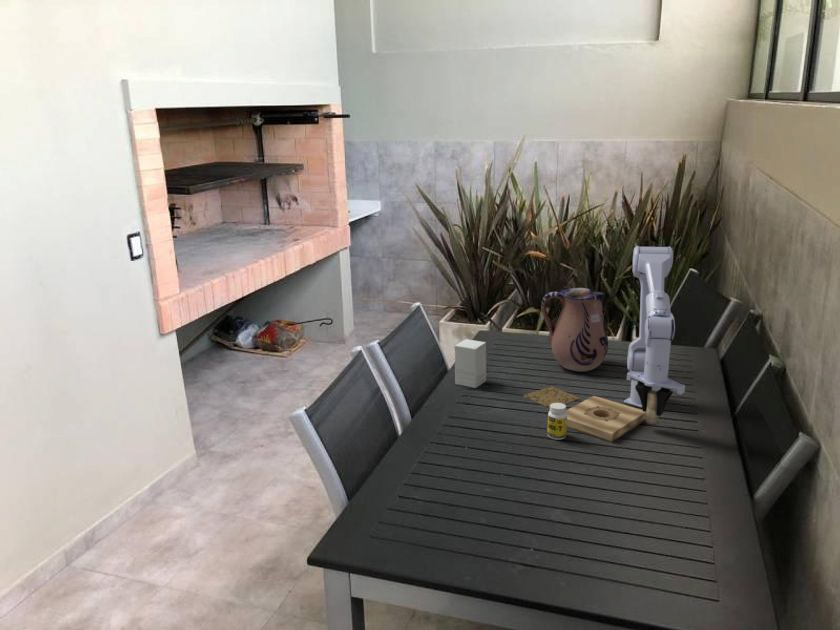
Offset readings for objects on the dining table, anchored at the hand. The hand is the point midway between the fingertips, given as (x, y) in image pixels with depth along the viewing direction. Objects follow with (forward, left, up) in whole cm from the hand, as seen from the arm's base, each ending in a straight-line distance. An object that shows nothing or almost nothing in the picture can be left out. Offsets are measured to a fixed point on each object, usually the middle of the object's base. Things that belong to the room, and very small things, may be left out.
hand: (652, 412), depth 175 cm
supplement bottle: (+19, -16, -5) cm, 25 cm away
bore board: (+4, -12, -5) cm, 14 cm away
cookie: (-1, -31, -6) cm, 31 cm away
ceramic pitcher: (-26, -40, -5) cm, 48 cm away
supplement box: (+6, -56, -5) cm, 56 cm away
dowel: (0, 0, -3) cm, 2 cm away
